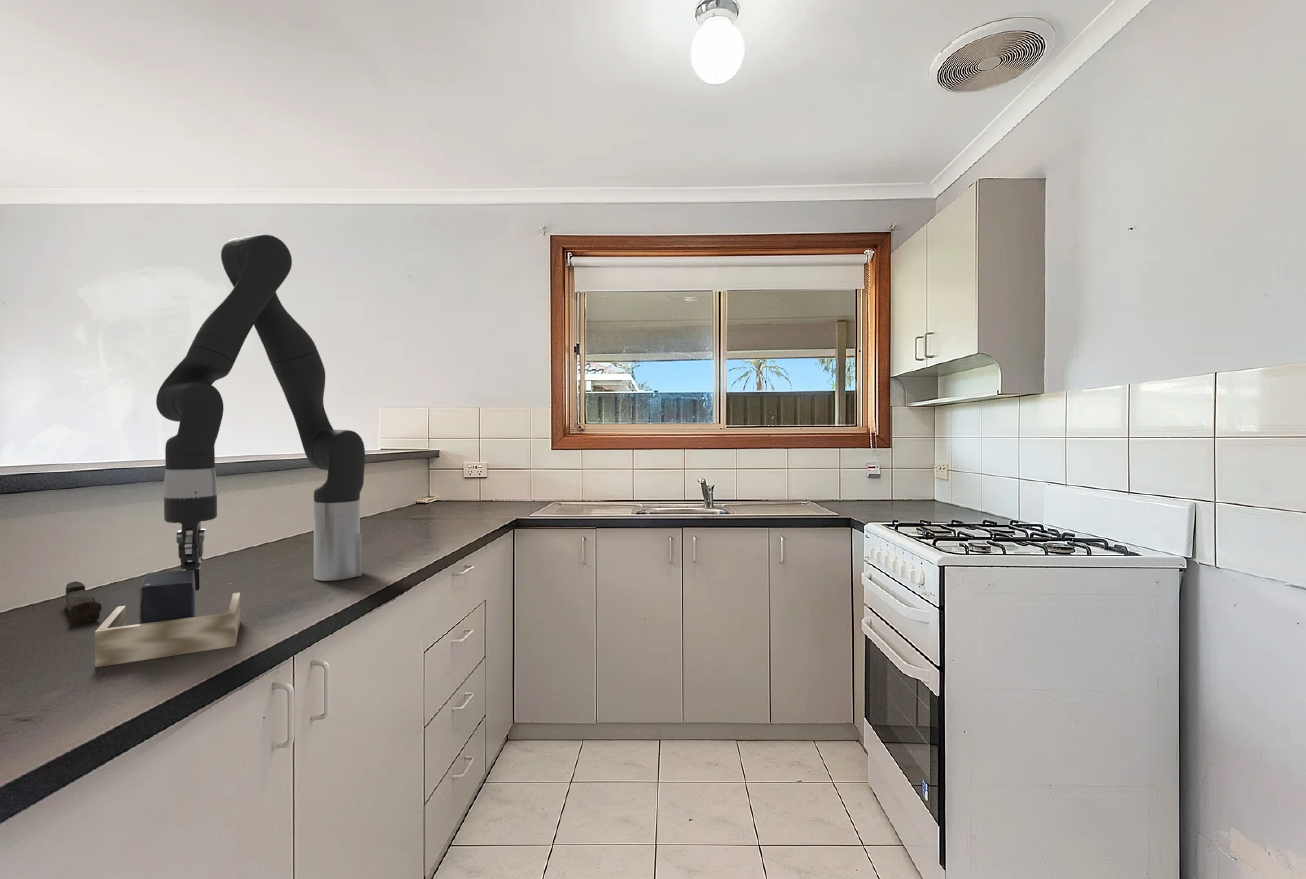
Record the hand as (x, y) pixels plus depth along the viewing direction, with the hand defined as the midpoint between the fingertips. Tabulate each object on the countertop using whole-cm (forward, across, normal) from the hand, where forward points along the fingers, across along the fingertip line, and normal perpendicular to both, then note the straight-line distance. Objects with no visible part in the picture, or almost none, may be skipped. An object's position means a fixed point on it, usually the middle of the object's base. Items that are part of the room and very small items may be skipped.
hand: (192, 590), depth 108 cm
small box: (+4, -17, +2) cm, 18 cm away
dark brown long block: (+5, +12, +18) cm, 22 cm away
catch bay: (+4, -16, +1) cm, 16 cm away
